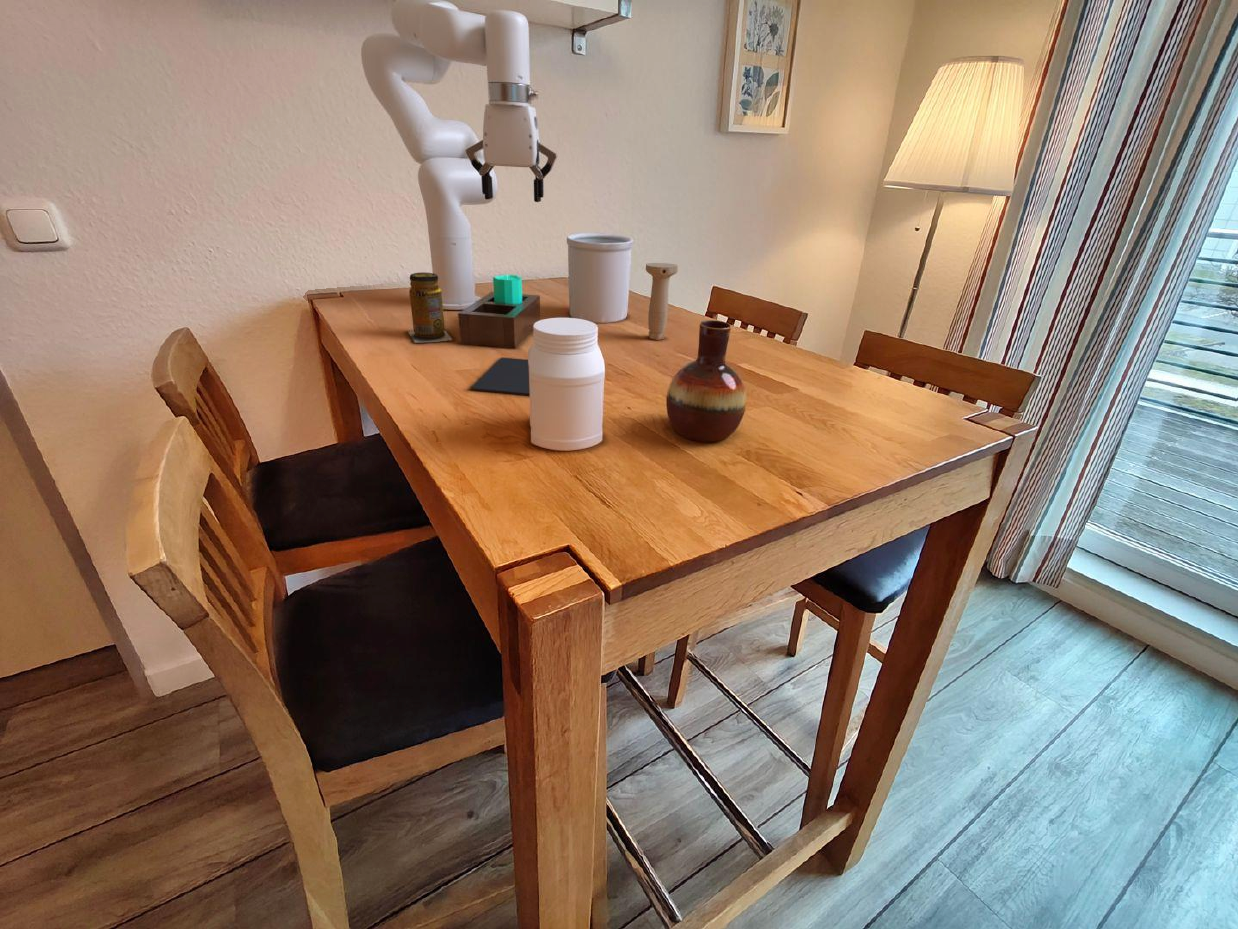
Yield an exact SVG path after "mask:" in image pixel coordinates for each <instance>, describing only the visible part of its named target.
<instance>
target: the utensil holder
mask: <svg viewBox="0 0 1238 929" xmlns="http://www.w3.org/2000/svg"><path fill="white" fill-rule="evenodd" d="M566 244H567V266H568V267H567V269H568V302H569V304H568V306H569V315H570V317H571V318H577V319H583V320H587V321H590V322H593V323H595V324H598V323H599V324H609V323H617V322H621V321H623V320H625V319H626V318H627V316H628V310H629V309H628V308H629V297H630V295H629V294H630V279H631V266H632V265H631V263H632V250H633V246H634V239H633V238H632V237H630V236H626V235H622V234H614V233H603V232H582V233H581V232H580V233H573V234H569V235H567V236H566Z"/></svg>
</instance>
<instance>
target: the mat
mask: <svg viewBox="0 0 1238 929" xmlns="http://www.w3.org/2000/svg"><path fill="white" fill-rule="evenodd" d="M470 391H475V392H484V393H485V392H486V393H497V394H508V395H517V396H529V397H530V390H529V365H528V359H523V358H513V357H500V358H499V359H498V360H497V361H496V362H495V363H494V364H493V365H492V366H491V367H490V368H489V369H488V370H487V371H486V372H485V373H484V374H483V375H482V376H481V377H480V378H479V379H478V380H477V381H476V382H475V383H474V384H473V386H471V387H470Z"/></svg>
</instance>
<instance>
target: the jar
mask: <svg viewBox="0 0 1238 929" xmlns="http://www.w3.org/2000/svg"><path fill="white" fill-rule="evenodd" d="M532 332H533V334H532V336H533V339H532V340H533V342H532V344H531V346H530V347H529V349H528V350H527V360H528V365H529V390H530V396H529V426H530V443H531V444H532V445H534V446H537V447H539V448H543V449H547V450H552V451H561V452H563V451H565V452H567V451H568V452H569V451H571V452H572V451H580V450H585V449H589V448H592V447H595V446H598V445H599V444H601V442H602V441H603V437H604V436H603V435H604V432H603V419H604V394H605V393H604V392H605V389H604V388H605V377H606V367H605V366H606V365H605V360H604V357H603V354H602V352H601V348H600V346H599V342H598V341H599V338H598V336H599V327H598V325H597V323H594V322H590V321H587V320H583V319H577V318H573V317H551V318H544V319H540V321H538V322H536V323H535V324H534V325H533V330H532Z"/></svg>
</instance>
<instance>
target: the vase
mask: <svg viewBox="0 0 1238 929" xmlns="http://www.w3.org/2000/svg"><path fill="white" fill-rule="evenodd" d="M698 327H699V329H698V349H697V357H696V359H695V360H692V361H690V362H688V363H687V364H685V365H683V366H682V367H681V368H680V369H679V370H678V371H677V372H676V373H675V374H674V375H673V377H672V379H671V380H670V382H669V384H668V388H667V392H666V399H665V401H666V402H665V403H666V413H667V417H668V420H669V422H670V425H671V427H672V428H673V429H674V431H675V432H676V433H677V434H679V435H680V436H681V437H684V438H685V439H688V440H691V441H695V442H701V443H714V442H720V441H723V440H725V439H727V438H729V437H730V436H732V435H733V433H734V432H735V431H736V430H737V429H738V428H739V426H740V424H741V422H742V420H743V417H744V415H745V412H746V408H747V389H746V386H745V384H744V381H743V378H742V377H741V376H740V374H739V373H738V372H737V370H735V369H734V368H733V367H732V366H731V365H730V364H728V363H726V355H727V349H728V344H729V339H730V335H731V330H732V325H731V324H730V323H728V322H726V321H721V320H712V319H711V320H710V319H709V320H703V321H700V322H699V326H698Z"/></svg>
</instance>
